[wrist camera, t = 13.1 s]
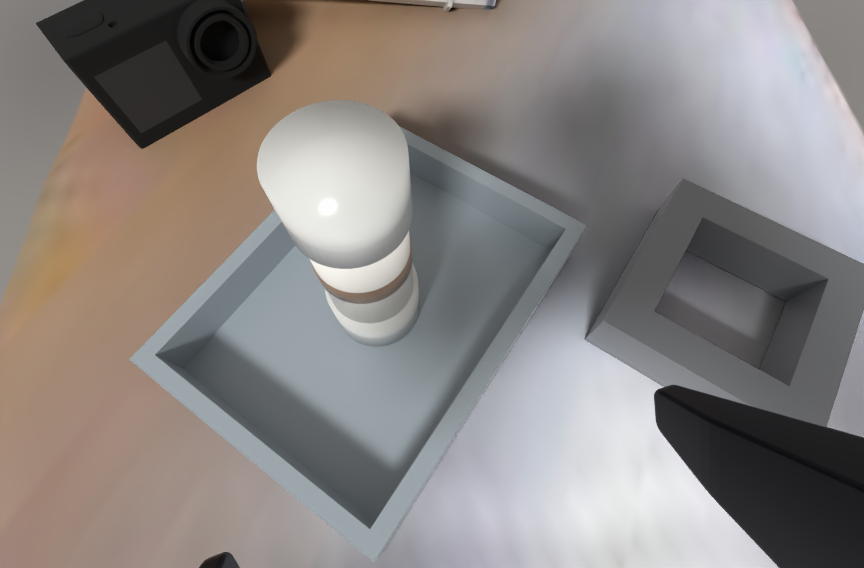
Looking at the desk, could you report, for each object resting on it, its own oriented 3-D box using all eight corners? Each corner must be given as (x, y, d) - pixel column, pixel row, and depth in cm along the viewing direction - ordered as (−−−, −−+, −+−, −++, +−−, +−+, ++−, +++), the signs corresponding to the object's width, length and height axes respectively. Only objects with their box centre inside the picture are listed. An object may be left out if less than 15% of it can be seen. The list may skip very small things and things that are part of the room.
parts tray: (383, 551, 20) (373, 562, 17) (170, 376, 24) (129, 359, 21) (569, 257, 26) (587, 225, 23) (378, 151, 30) (370, 111, 27)
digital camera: (148, 162, 30) (70, 73, 23) (113, 115, 31) (30, 21, 25) (281, 85, 32) (243, -13, 26) (242, 46, 34) (197, -55, 28)
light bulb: (417, 348, 23) (403, 222, 12) (332, 344, 23) (242, 217, 12) (421, 271, 25) (412, 101, 14) (342, 268, 25) (272, 98, 14)
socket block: (772, 451, 22) (820, 445, 19) (584, 339, 24) (603, 320, 22) (828, 293, 25) (876, 269, 22) (658, 209, 28) (683, 178, 25)
